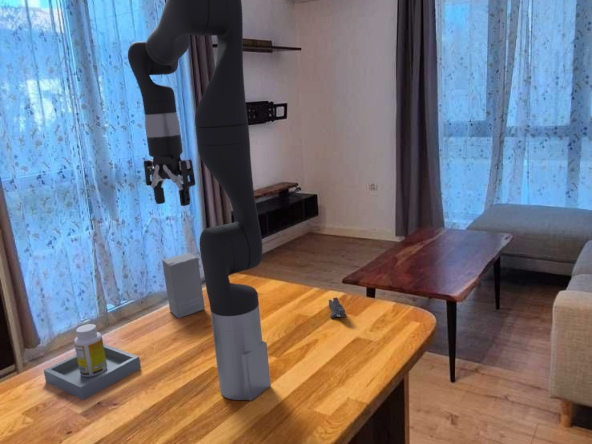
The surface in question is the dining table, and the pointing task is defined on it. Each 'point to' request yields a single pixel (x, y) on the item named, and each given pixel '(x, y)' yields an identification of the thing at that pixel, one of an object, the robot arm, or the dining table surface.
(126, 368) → the slate tray
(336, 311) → the animal figurine
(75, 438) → the dining table surface
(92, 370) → the supplement bottle
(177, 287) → the skincare box
